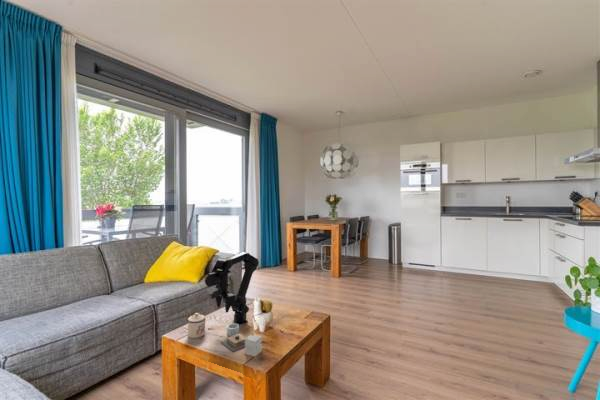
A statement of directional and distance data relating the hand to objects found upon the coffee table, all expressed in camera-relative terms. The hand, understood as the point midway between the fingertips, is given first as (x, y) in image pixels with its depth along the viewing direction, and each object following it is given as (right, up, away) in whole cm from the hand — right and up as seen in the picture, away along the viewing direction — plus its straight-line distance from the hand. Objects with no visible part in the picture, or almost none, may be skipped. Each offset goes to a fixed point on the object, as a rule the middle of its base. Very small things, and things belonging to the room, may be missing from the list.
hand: (222, 309), depth 163 cm
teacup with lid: (-13, -12, -2) cm, 18 cm away
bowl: (+6, -12, -2) cm, 14 cm away
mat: (+11, -12, -13) cm, 21 cm away
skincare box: (+21, -13, -22) cm, 32 cm away
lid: (+11, -12, -13) cm, 20 cm away
